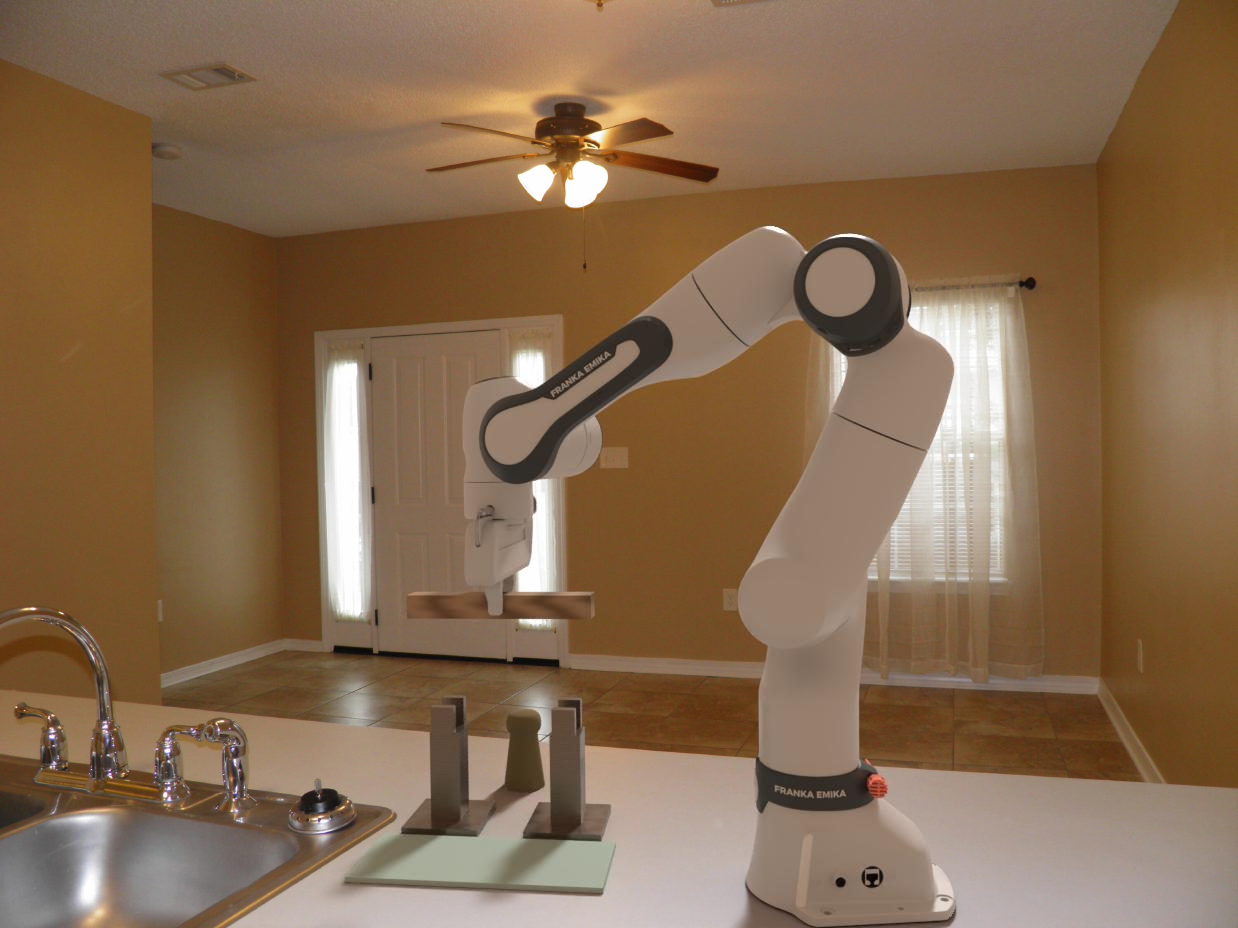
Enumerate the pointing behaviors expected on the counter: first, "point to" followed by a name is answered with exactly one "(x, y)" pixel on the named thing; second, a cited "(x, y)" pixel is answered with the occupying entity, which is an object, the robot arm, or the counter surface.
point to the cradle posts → (468, 817)
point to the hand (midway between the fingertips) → (501, 611)
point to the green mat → (486, 863)
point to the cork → (524, 752)
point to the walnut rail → (515, 605)
